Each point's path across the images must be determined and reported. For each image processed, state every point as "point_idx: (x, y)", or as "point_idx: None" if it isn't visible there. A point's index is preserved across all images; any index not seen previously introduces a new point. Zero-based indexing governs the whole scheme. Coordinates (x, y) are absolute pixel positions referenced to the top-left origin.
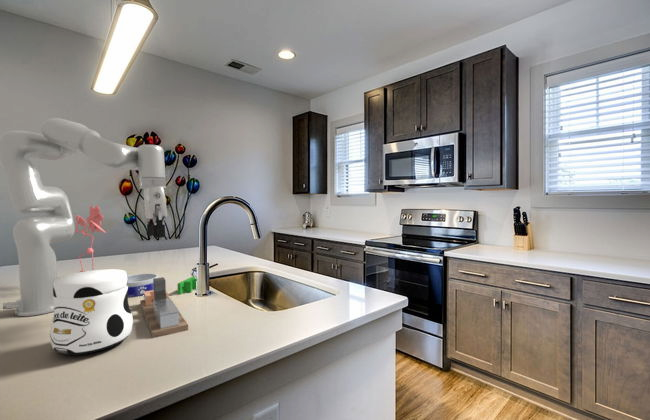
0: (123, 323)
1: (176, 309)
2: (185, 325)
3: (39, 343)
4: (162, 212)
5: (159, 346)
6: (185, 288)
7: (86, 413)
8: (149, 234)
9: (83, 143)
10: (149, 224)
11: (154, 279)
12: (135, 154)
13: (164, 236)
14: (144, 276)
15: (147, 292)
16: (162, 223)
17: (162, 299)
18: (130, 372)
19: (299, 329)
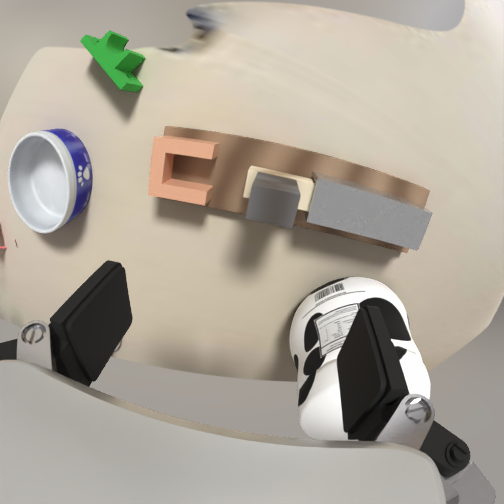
0: (406, 313)
1: (423, 214)
2: (427, 195)
3: (267, 358)
4: (492, 491)
5: (438, 253)
6: (127, 68)
7: (475, 336)
8: (127, 322)
9: None
10: (89, 376)
11: (263, 221)
12: None
13: (377, 311)
14: (16, 159)
15: (164, 189)
16: (419, 413)
17: (316, 199)
18: (460, 300)
19: None
